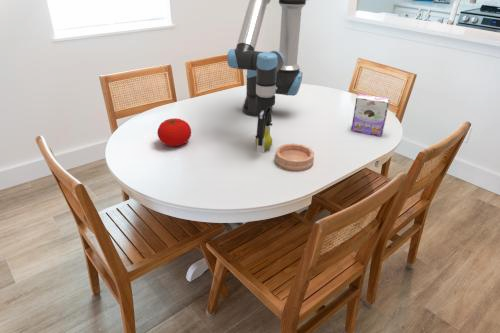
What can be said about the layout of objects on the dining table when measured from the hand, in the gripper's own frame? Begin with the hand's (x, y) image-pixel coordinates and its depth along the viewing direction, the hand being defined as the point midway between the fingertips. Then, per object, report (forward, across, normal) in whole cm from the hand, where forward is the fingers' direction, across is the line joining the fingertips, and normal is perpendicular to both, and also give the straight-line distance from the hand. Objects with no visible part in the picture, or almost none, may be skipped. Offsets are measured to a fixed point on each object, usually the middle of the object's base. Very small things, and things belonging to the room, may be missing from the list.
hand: (263, 145), depth 155 cm
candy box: (+2, +30, -42) cm, 52 cm away
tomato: (+2, -6, +37) cm, 38 cm away
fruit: (+2, 0, 0) cm, 2 cm away
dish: (+1, -7, -14) cm, 16 cm away
